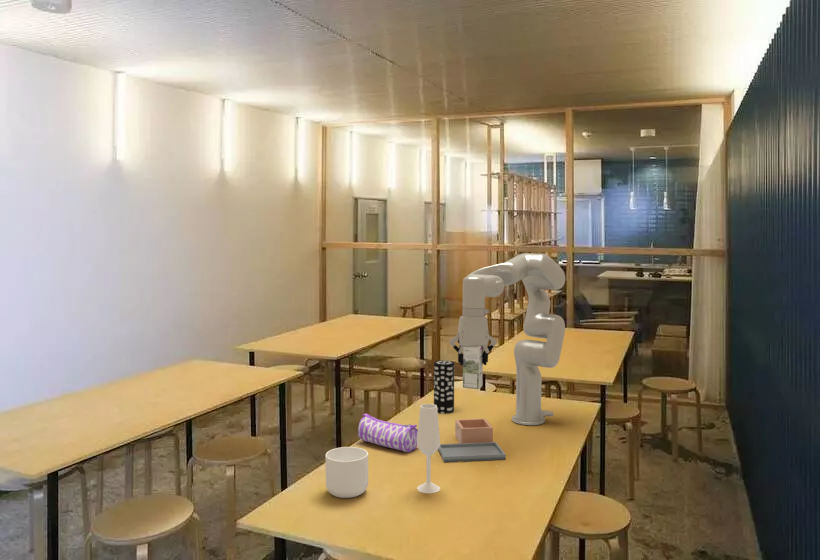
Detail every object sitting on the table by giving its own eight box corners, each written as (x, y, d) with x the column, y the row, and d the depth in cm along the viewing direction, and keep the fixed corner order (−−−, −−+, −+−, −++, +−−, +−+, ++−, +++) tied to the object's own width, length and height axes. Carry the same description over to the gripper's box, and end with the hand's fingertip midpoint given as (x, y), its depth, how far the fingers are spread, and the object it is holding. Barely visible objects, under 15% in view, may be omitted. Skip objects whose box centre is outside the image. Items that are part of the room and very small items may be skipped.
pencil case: (423, 448, 217) (423, 421, 217) (408, 456, 210) (408, 428, 209) (370, 437, 229) (370, 411, 228) (354, 444, 221) (354, 417, 221)
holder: (485, 434, 231) (485, 418, 231) (492, 444, 220) (492, 427, 220) (455, 435, 230) (455, 419, 229) (461, 446, 219) (461, 428, 219)
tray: (496, 447, 218) (496, 442, 218) (505, 459, 206) (505, 454, 206) (438, 449, 216) (438, 444, 215) (444, 462, 204) (444, 456, 204)
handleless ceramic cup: (341, 505, 172) (341, 464, 171) (317, 491, 181) (317, 452, 180) (376, 494, 179) (376, 454, 179) (352, 481, 189) (352, 444, 188)
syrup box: (482, 385, 220) (483, 344, 219) (478, 389, 215) (479, 346, 214) (466, 384, 222) (467, 343, 221) (462, 388, 216) (462, 345, 215)
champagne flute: (443, 491, 181) (443, 408, 179) (420, 494, 179) (420, 410, 177) (435, 482, 187) (436, 402, 185) (413, 485, 185) (413, 403, 183)
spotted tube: (452, 414, 257) (452, 365, 256) (432, 413, 259) (432, 364, 258) (455, 408, 266) (455, 360, 264) (435, 407, 267) (435, 360, 266)
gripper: (496, 311, 221) (495, 362, 222) (446, 311, 219) (445, 362, 221) (501, 314, 214) (500, 366, 215) (449, 314, 212) (449, 367, 213)
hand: (472, 364), depth 218 cm, fingers closed on syrup box, 7 cm apart
